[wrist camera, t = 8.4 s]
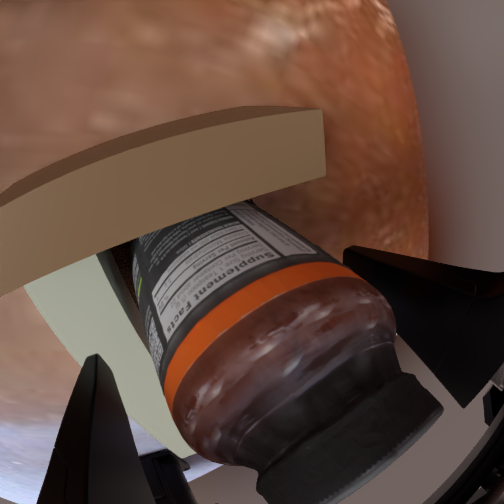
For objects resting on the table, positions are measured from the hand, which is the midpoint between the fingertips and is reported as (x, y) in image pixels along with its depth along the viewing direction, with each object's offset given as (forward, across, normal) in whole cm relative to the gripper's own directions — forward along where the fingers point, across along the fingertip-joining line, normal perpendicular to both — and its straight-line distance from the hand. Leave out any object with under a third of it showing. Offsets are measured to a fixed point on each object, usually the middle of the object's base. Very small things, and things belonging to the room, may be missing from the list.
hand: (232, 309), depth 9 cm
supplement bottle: (+5, 0, 0) cm, 5 cm away
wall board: (+5, +1, +5) cm, 7 cm away
